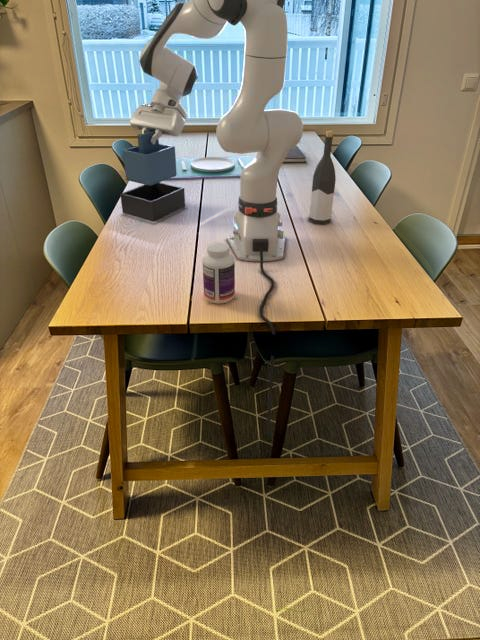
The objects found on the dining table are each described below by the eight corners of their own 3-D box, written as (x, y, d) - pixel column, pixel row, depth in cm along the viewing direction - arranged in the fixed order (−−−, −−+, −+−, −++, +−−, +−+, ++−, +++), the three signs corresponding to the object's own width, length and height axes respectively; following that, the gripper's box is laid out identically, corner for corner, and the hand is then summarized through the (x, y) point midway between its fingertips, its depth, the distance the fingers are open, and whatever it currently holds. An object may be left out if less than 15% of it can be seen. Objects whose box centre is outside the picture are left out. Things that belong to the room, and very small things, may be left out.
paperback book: (296, 150, 245) (297, 145, 244) (306, 162, 226) (306, 157, 225) (266, 150, 244) (266, 145, 243) (273, 163, 225) (273, 158, 224)
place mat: (164, 180, 202) (164, 174, 201) (162, 160, 227) (162, 155, 226) (266, 176, 208) (267, 171, 207) (254, 157, 233) (254, 152, 232)
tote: (155, 200, 181) (153, 180, 177) (185, 208, 175) (184, 187, 170) (123, 215, 169) (120, 193, 164) (154, 223, 162) (151, 202, 158)
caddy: (153, 170, 172) (149, 127, 164) (176, 175, 167) (173, 131, 159) (126, 180, 162) (120, 134, 154) (150, 185, 157) (146, 139, 149)
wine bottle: (334, 218, 168) (346, 130, 151) (325, 226, 162) (337, 135, 146) (313, 214, 172) (322, 127, 155) (304, 221, 166) (312, 132, 149)
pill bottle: (235, 290, 126) (236, 240, 118) (233, 306, 119) (233, 254, 111) (205, 288, 126) (204, 239, 118) (201, 304, 120) (199, 253, 111)
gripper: (135, 97, 161) (119, 132, 159) (182, 103, 152) (165, 140, 150) (145, 109, 166) (129, 143, 165) (192, 115, 157) (175, 152, 156)
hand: (147, 142), depth 158 cm, fingers closed on caddy
